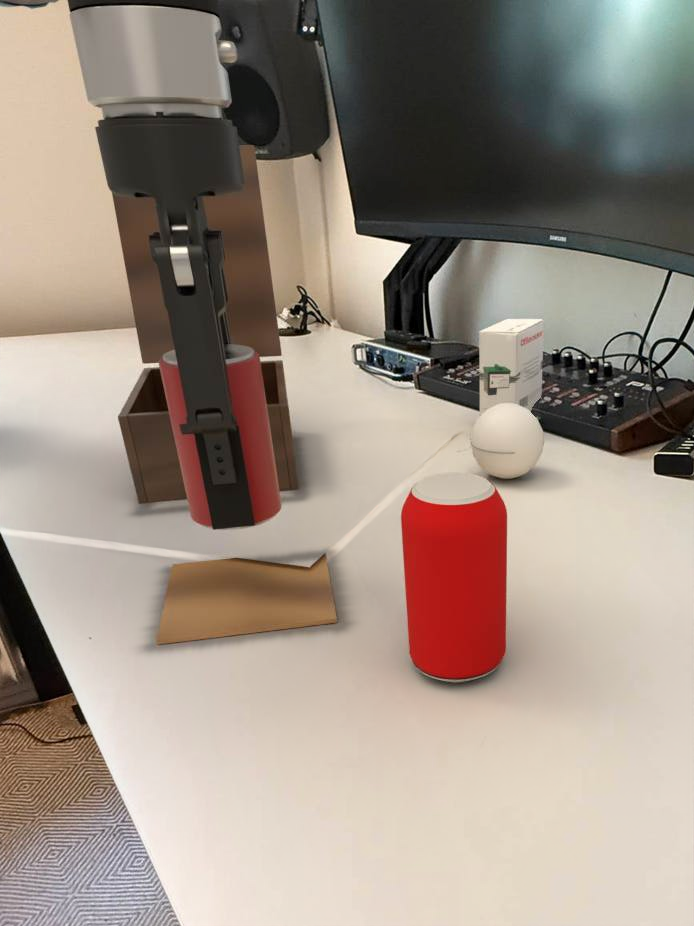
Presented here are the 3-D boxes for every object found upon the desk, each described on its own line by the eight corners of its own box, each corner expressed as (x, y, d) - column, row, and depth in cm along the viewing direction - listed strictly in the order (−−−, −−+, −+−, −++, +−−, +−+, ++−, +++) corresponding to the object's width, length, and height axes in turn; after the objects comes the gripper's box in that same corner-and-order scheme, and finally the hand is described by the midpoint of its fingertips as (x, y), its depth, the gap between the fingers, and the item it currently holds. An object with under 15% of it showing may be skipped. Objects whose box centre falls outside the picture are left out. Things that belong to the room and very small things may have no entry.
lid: (254, 145, 82) (254, 147, 83) (103, 145, 79) (105, 148, 80) (281, 355, 88) (281, 356, 89) (142, 363, 85) (143, 363, 86)
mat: (337, 622, 56) (336, 617, 56) (157, 644, 54) (156, 639, 53) (325, 552, 66) (324, 548, 66) (173, 568, 64) (172, 564, 63)
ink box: (506, 415, 101) (506, 315, 95) (543, 419, 99) (546, 318, 93) (477, 434, 94) (476, 328, 88) (516, 439, 92) (518, 331, 86)
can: (173, 526, 55) (136, 360, 49) (223, 495, 60) (194, 341, 54) (253, 536, 53) (224, 365, 48) (297, 503, 58) (276, 345, 53)
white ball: (518, 460, 86) (520, 391, 82) (556, 481, 80) (559, 407, 76) (434, 476, 82) (432, 403, 78) (468, 499, 76) (467, 422, 72)
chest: (300, 496, 77) (288, 405, 72) (140, 511, 74) (117, 416, 70) (292, 438, 93) (282, 359, 89) (161, 448, 90) (143, 367, 86)
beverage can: (397, 684, 49) (383, 500, 43) (426, 634, 55) (418, 464, 48) (493, 697, 48) (493, 510, 42) (514, 645, 53) (517, 471, 47)
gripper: (230, 104, 37) (294, 557, 49) (238, 122, 53) (285, 460, 65) (56, 104, 36) (166, 571, 47) (118, 122, 52) (189, 468, 63)
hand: (235, 506), depth 56 cm, fingers closed on can, 6 cm apart
